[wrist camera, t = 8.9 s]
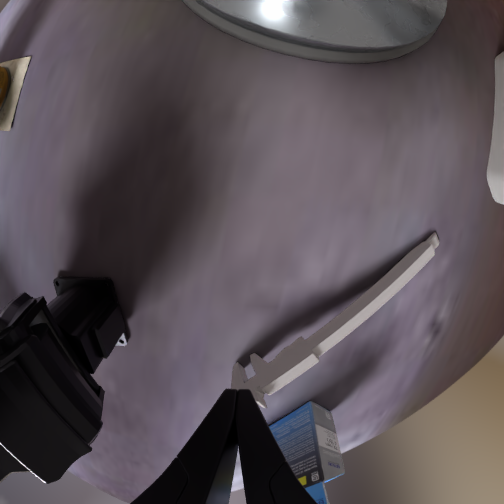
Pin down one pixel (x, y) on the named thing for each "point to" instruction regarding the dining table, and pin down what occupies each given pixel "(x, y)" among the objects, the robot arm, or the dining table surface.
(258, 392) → the caliper
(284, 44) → the turntable base
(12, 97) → the condiment
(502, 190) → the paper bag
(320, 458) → the label tape box
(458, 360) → the dining table surface
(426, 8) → the platter
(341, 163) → the dining table surface
